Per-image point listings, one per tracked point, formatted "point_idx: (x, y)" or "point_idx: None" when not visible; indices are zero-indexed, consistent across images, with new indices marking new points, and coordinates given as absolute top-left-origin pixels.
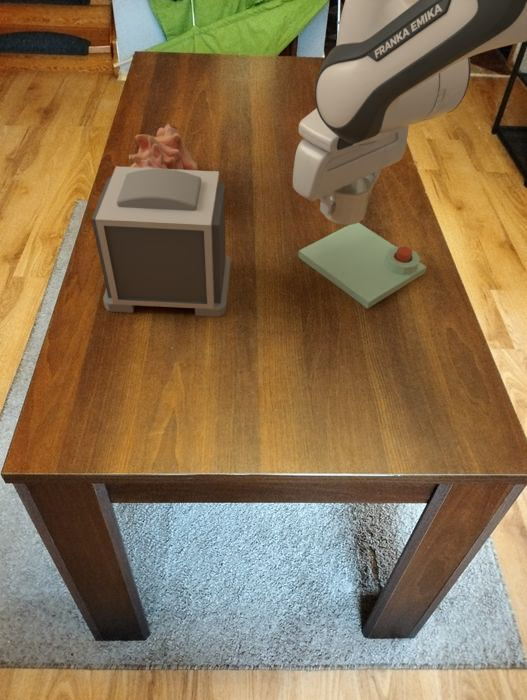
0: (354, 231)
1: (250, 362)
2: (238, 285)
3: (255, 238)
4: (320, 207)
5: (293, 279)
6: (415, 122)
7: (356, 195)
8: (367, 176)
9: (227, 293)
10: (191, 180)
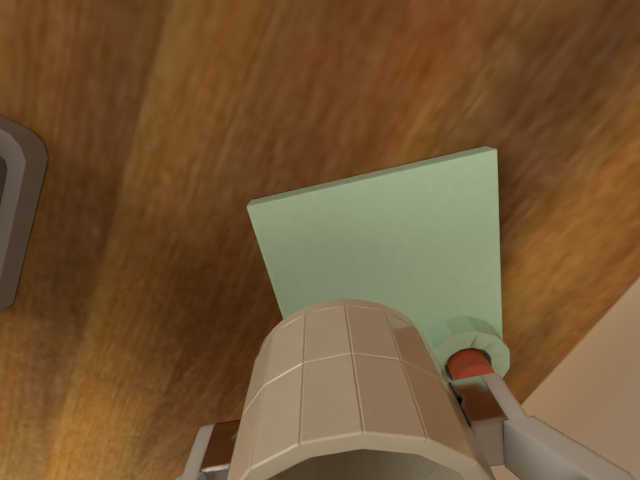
0: (452, 194)
1: (46, 416)
2: (58, 236)
3: (157, 56)
4: (196, 441)
5: (203, 269)
6: None
7: None
8: (546, 466)
9: (14, 267)
10: None
